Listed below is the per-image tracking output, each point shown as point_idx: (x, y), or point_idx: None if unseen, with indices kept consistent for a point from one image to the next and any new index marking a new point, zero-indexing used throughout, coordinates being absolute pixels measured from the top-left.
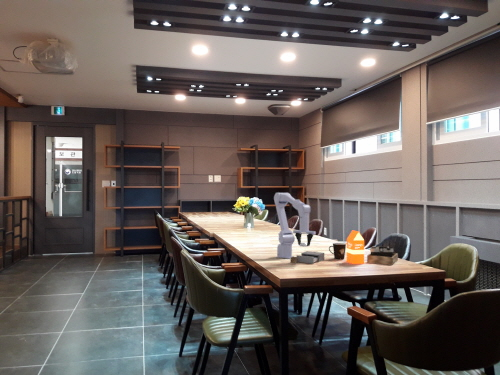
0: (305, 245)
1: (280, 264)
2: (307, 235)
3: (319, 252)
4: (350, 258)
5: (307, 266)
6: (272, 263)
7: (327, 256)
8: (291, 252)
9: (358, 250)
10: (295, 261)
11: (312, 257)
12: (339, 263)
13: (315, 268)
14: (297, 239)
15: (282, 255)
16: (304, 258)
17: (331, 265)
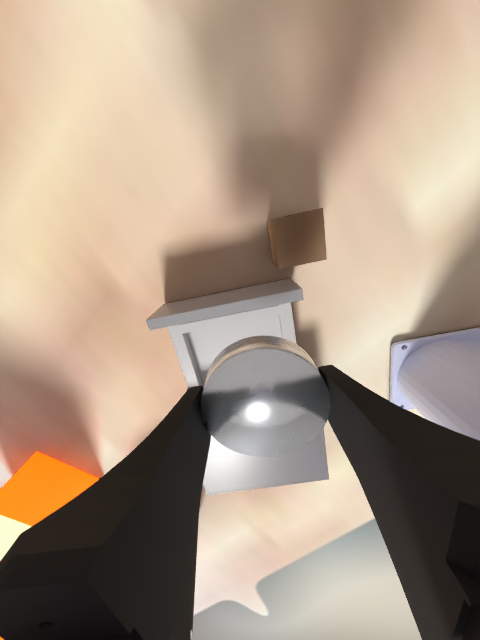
0: (213, 366)
1: (340, 68)
2: (71, 551)
3: (237, 487)
4: (46, 487)
5: (125, 185)
6: (430, 47)
7: (252, 520)
8: (419, 402)
9: None
10: (269, 227)
11: (155, 317)
12: (84, 420)
13: (30, 158)
14: (393, 409)
15: (465, 345)
16: (226, 298)
17: (61, 343)
